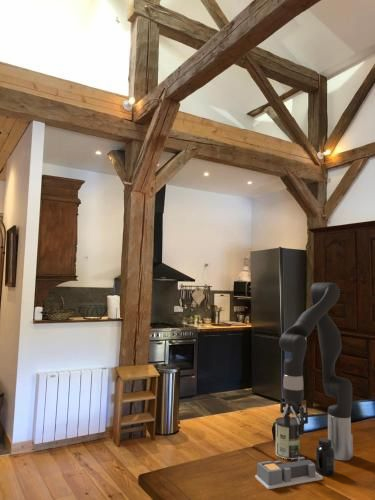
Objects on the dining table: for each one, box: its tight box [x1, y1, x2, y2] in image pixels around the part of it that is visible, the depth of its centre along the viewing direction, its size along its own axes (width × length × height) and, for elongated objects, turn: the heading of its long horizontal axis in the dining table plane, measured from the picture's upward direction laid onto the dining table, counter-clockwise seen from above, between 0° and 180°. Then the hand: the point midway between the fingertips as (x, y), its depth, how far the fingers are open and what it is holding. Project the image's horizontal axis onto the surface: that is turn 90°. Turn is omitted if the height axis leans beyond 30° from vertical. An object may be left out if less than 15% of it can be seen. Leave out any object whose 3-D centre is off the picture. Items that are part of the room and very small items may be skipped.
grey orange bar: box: [264, 459, 316, 480], centre depth 146 cm, size 20×4×4 cm, turn 111°
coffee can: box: [274, 416, 301, 461], centre depth 167 cm, size 10×10×14 cm
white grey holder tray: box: [254, 456, 324, 490], centre depth 146 cm, size 24×9×6 cm, turn 111°
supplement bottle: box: [315, 437, 336, 477], centre depth 152 cm, size 7×7×12 cm
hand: (293, 430), depth 148 cm, fingers open, 8 cm apart
